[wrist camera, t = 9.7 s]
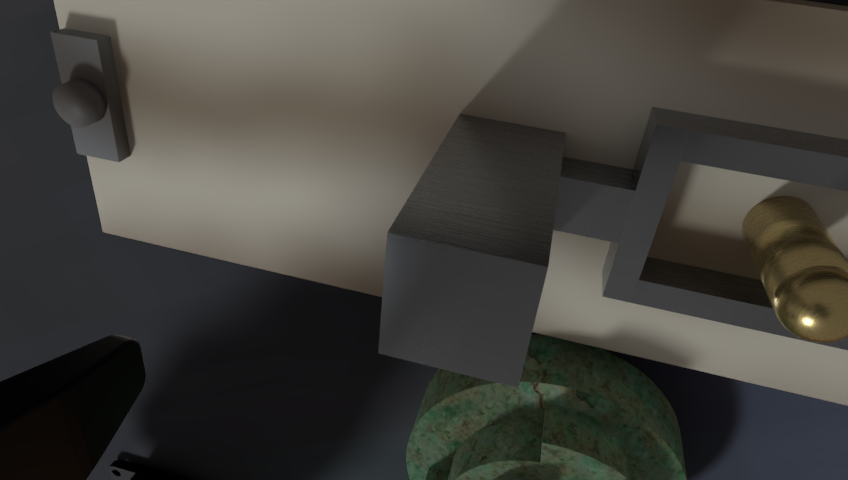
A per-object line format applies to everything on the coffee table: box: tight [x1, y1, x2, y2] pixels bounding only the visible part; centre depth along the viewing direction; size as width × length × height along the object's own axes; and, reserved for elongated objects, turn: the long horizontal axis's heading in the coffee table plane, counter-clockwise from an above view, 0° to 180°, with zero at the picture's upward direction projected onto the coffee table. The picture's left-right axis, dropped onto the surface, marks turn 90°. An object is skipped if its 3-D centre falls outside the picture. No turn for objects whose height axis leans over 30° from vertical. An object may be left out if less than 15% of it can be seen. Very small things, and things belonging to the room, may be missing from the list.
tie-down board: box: [50, 0, 848, 405], centre depth 18 cm, size 11×27×2 cm, turn 84°
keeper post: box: [742, 196, 848, 343], centre depth 15 cm, size 2×2×4 cm
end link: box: [378, 107, 848, 388], centre depth 14 cm, size 5×13×7 cm, turn 84°
